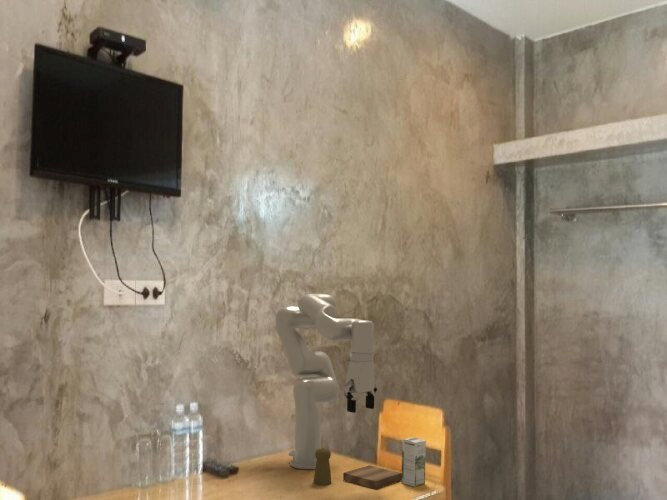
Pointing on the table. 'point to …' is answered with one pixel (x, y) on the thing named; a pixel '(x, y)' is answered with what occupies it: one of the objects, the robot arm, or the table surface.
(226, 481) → the table surface
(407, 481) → the syrup box
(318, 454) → the cork
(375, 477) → the walnut base
